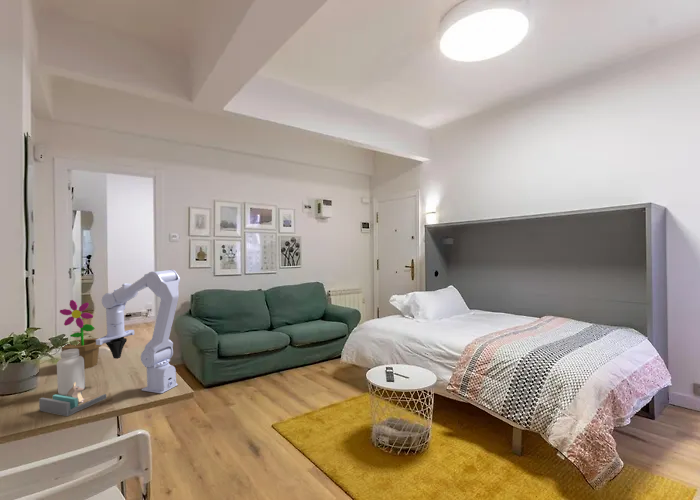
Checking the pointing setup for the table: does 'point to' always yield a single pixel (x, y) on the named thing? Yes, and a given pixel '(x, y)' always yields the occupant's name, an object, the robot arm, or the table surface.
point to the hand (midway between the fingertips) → (116, 357)
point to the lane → (65, 405)
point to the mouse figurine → (76, 393)
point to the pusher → (67, 400)
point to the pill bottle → (70, 371)
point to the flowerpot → (85, 346)
